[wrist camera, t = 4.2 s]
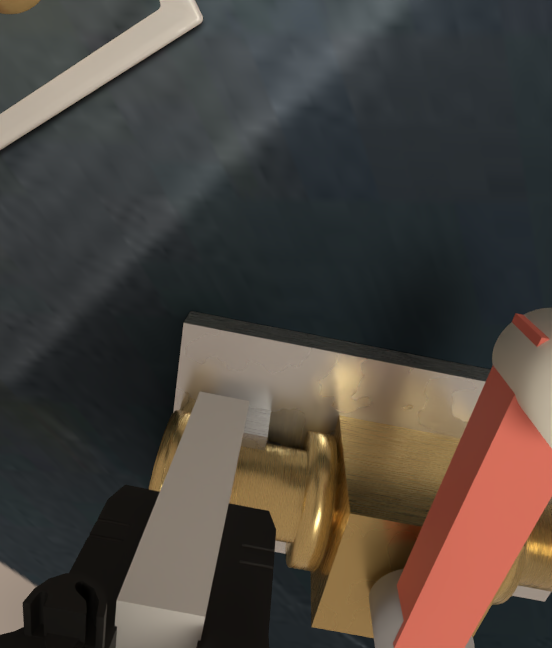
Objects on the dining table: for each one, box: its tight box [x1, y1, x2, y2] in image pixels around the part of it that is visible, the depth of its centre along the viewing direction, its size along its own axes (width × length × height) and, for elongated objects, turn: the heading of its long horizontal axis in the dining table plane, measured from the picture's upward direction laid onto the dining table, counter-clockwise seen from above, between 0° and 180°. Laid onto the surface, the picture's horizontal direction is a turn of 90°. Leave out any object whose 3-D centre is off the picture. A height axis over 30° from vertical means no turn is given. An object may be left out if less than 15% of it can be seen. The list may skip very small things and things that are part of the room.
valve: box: [149, 311, 552, 638], centre depth 23 cm, size 24×14×8 cm, turn 79°
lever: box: [369, 308, 552, 648], centre depth 15 cm, size 15×4×4 cm, turn 169°
